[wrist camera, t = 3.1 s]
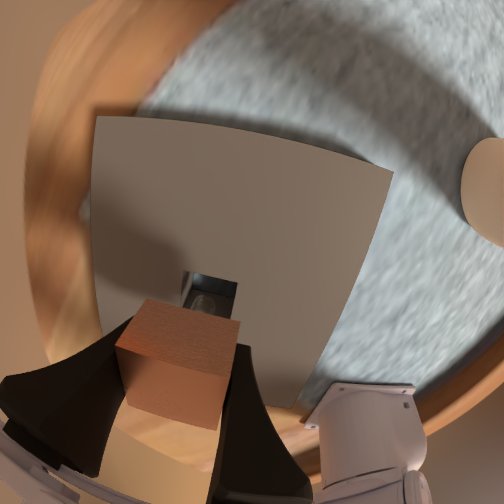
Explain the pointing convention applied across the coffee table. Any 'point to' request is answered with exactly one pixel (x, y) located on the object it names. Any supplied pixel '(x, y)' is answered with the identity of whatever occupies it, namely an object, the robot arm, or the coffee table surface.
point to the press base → (232, 233)
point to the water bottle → (485, 189)
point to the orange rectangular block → (178, 360)
